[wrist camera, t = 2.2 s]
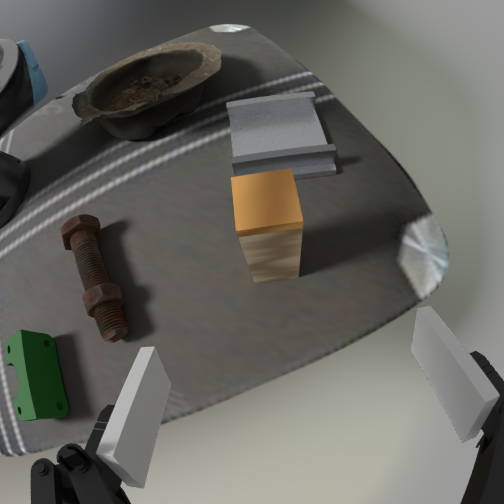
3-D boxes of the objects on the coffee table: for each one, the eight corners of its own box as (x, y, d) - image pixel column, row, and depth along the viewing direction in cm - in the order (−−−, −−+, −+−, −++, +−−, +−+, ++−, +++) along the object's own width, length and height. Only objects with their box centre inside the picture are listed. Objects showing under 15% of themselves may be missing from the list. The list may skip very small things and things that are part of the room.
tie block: (254, 283, 31) (236, 231, 20) (250, 243, 33) (231, 177, 22) (298, 277, 31) (303, 221, 20) (291, 237, 33) (291, 168, 22)
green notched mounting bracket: (54, 360, 34) (7, 331, 29) (74, 350, 33) (23, 318, 28) (46, 433, 26) (-10, 408, 21) (67, 430, 25) (5, 404, 20)
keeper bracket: (237, 188, 36) (232, 170, 33) (230, 117, 41) (226, 99, 38) (335, 174, 35) (338, 156, 32) (311, 106, 41) (312, 88, 37)
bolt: (128, 344, 32) (90, 242, 38) (149, 323, 30) (106, 217, 36) (86, 350, 27) (53, 239, 33) (104, 329, 25) (67, 211, 31)
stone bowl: (102, 185, 39) (68, 142, 31) (94, 108, 51) (74, 75, 43) (256, 109, 41) (245, 56, 33) (204, 56, 52) (192, 19, 44)
